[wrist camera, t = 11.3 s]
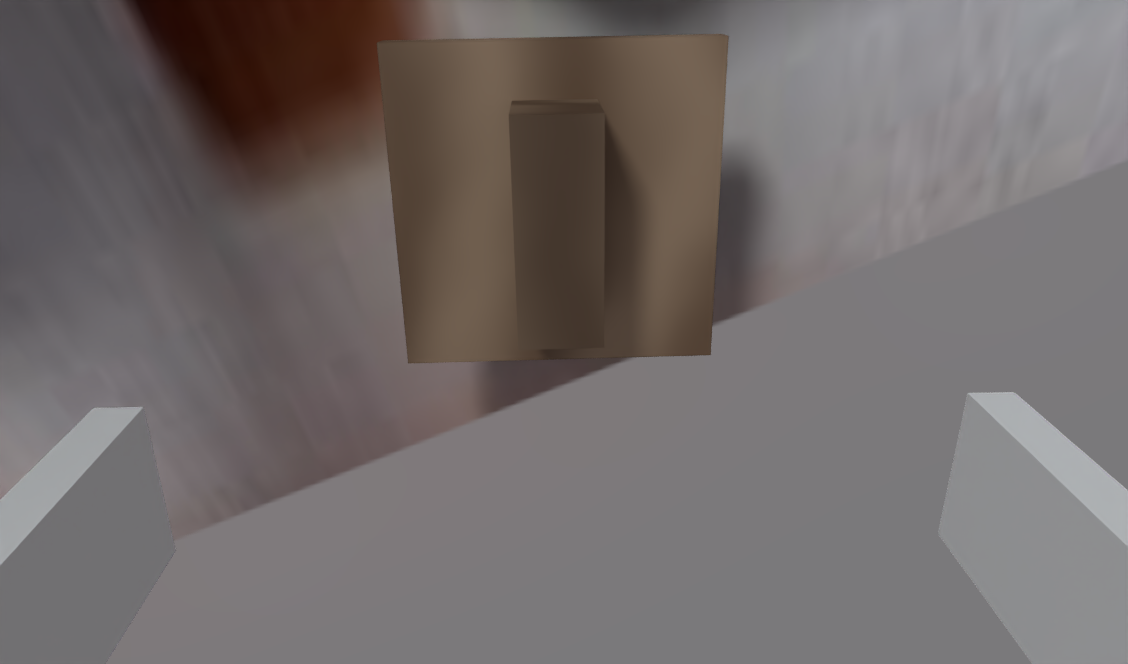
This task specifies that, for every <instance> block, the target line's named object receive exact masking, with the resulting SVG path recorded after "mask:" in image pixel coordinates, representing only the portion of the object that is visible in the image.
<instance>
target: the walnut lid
mask: <svg viewBox="0 0 1128 664" xmlns="http://www.w3.org/2000/svg"><path fill="white" fill-rule="evenodd" d="M377 50H378V60H379V70H380V80H381V90H382V101H383V111H384V121H385V131H386V141H387V151H388V162H389V172H390V182H391V192H392V202H393V212H394V223H395V233H396V243H397V253H398V263H399V274H400V284H401V294H402V304H403V314H404V324H405V335H406V345H407V355H408V363H438V362H475V361H511V360H548V359H584V358H620V357H653V356H654V357H655V356H656V357H657V356H693V355H710V354H711V337H712V320H713V302H714V285H715V267H716V249H717V231H718V214H719V196H720V178H721V160H722V143H723V125H724V107H725V89H726V72H727V54H728V36H727V35H723V34H693V35H642V36H591V37H540V38H489V39H438V40H387V41H381V42H378V43H377Z"/></svg>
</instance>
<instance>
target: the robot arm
mask: <svg viewBox="0 0 1128 664" xmlns="http://www.w3.org/2000/svg"><path fill="white" fill-rule="evenodd" d="M938 535H939V536H940V537H941V539H942V540H943V541H944V543H945V544H946V545H947V547H948V548H949V550H950V551H951V552H952V554H953V555H954V557H955V558H956V559H957V561H958V562H959V563H960V565H961V566H962V568H963V569H964V570H965V572H966V573H967V574H968V576H969V577H970V578H971V580H972V581H973V583H974V584H975V586H976V587H977V588H978V590H979V591H980V592H981V594H982V595H983V597H984V598H985V599H986V601H987V602H988V603H989V605H990V606H991V608H992V609H993V610H994V612H995V613H996V614H997V616H998V617H999V619H1000V620H1001V621H1002V623H1003V624H1004V625H1005V627H1006V628H1007V630H1008V631H1009V632H1010V634H1011V635H1012V636H1013V638H1014V639H1015V641H1016V642H1017V643H1018V645H1019V646H1020V647H1021V649H1022V650H1023V652H1024V653H1025V654H1026V656H1027V657H1028V659H1029V660H1030V661H1031V663H1032V664H1128V490H1127V489H1125V488H1124V487H1123V486H1122V485H1121V484H1120V483H1118V482H1117V481H1116V480H1115V479H1114V478H1113V477H1112V476H1110V475H1109V474H1108V473H1107V472H1106V471H1105V470H1104V469H1102V468H1101V467H1100V466H1099V465H1098V464H1097V463H1095V462H1094V461H1093V460H1092V459H1091V458H1090V457H1088V456H1087V455H1086V454H1085V453H1084V452H1083V451H1082V450H1080V449H1079V448H1078V447H1077V446H1076V445H1075V444H1074V443H1072V442H1071V441H1070V440H1069V439H1068V438H1067V437H1065V436H1064V435H1063V434H1062V433H1061V432H1060V431H1058V430H1057V429H1056V428H1055V427H1054V426H1053V425H1052V424H1050V423H1049V422H1048V421H1047V420H1046V419H1045V418H1043V417H1042V416H1041V415H1040V414H1039V413H1038V412H1037V411H1035V410H1034V409H1033V408H1032V407H1031V406H1029V405H1028V404H1027V403H1026V402H1025V401H1024V400H1022V399H1021V398H1020V397H1019V396H1018V395H1017V394H1016V393H1015V392H1006V393H1005V392H1004V393H1003V392H1002V393H968V394H967V399H966V404H965V409H964V413H963V418H962V423H961V428H960V432H959V437H958V442H957V446H956V451H955V456H954V460H953V465H952V470H951V475H950V480H949V484H948V489H947V494H946V498H945V503H944V508H943V513H942V517H941V522H940V527H939V532H938ZM175 551H176V549H175V545H174V540H173V536H172V531H171V527H170V523H169V518H168V514H167V509H166V505H165V500H164V496H163V491H162V487H161V483H160V478H159V474H158V469H157V465H156V460H155V456H154V451H153V447H152V442H151V438H150V434H149V429H148V425H147V420H146V416H145V411H144V407H116V408H93V409H92V410H91V411H90V412H89V413H88V414H87V415H86V416H85V417H84V418H83V419H82V420H81V421H80V422H79V423H78V424H77V425H76V426H75V427H74V428H73V429H72V430H71V431H70V432H69V433H68V434H67V435H66V436H65V437H64V438H63V439H62V440H61V441H60V442H59V443H58V444H57V445H56V446H55V447H54V448H53V449H52V450H51V451H49V452H48V453H47V454H46V455H45V456H44V457H43V458H42V459H41V460H40V461H39V462H38V463H37V464H36V465H35V466H34V467H33V468H32V469H31V470H30V471H29V472H28V473H27V474H26V475H25V476H24V477H23V478H22V479H21V480H20V481H19V482H18V483H17V484H16V485H15V486H14V487H13V488H12V489H11V490H10V491H9V492H8V493H7V494H6V495H5V496H4V497H3V498H2V499H1V500H0V664H106V662H107V661H108V659H109V657H110V656H111V654H112V652H113V651H114V649H115V648H116V646H117V644H118V643H119V641H120V640H121V638H122V636H123V635H124V633H125V632H126V630H127V628H128V627H129V625H130V624H131V622H132V620H133V619H134V617H135V616H136V614H137V612H138V611H139V609H140V607H141V606H142V604H143V603H144V601H145V599H146V598H147V596H148V595H149V593H150V591H151V590H152V588H153V586H154V585H155V583H156V582H157V580H158V579H159V577H160V575H161V573H162V572H163V570H164V569H165V567H166V566H167V564H168V562H169V561H170V559H171V558H172V556H173V554H174V553H175Z"/></svg>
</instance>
